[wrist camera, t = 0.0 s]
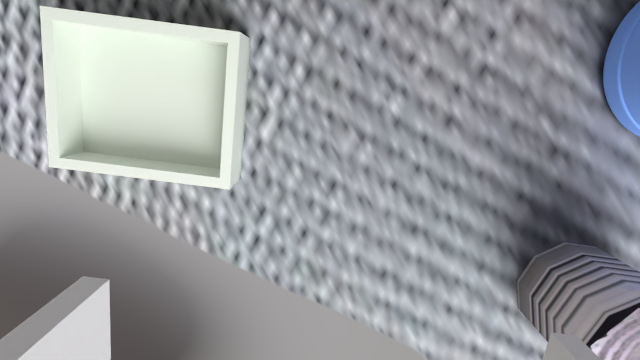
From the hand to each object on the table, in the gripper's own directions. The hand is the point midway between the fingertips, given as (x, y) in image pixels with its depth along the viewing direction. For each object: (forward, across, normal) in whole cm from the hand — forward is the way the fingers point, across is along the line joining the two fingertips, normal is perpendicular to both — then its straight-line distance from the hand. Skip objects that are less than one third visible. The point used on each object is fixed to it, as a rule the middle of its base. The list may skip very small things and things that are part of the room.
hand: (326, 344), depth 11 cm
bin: (+28, -17, +4) cm, 33 cm away
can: (+28, +29, -11) cm, 42 cm away
